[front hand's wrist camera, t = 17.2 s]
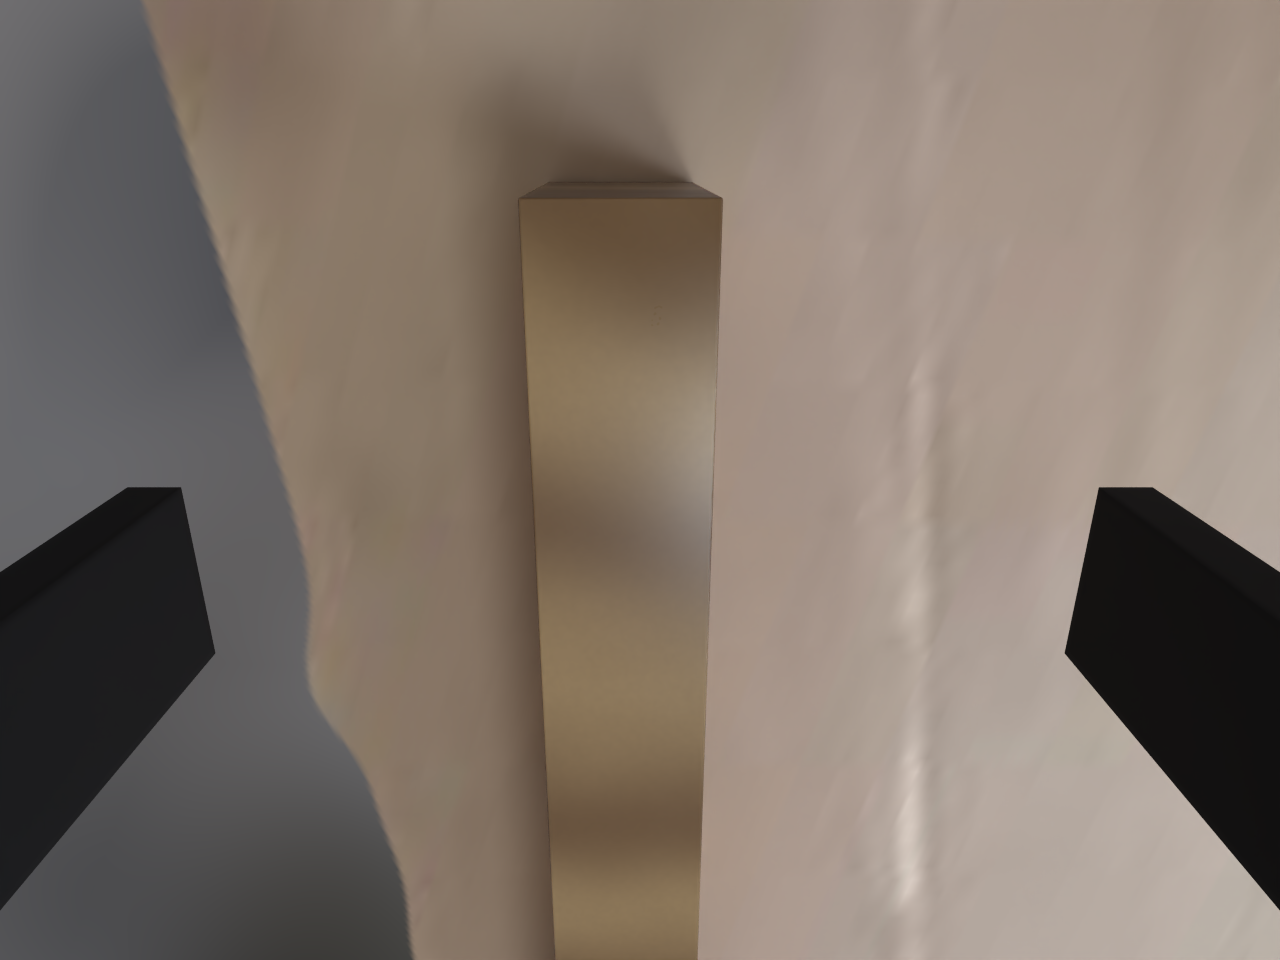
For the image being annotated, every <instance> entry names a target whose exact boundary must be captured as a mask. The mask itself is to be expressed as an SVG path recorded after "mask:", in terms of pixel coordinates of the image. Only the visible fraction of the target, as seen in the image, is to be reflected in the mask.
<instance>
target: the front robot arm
mask: <svg viewBox="0 0 1280 960" xmlns="http://www.w3.org/2000/svg"><path fill="white" fill-rule="evenodd" d="M214 654H215V649H214V645H213V640H212V635H211V630H210V625H209V621H208V616H207V611H206V606H205V601H204V596H203V591H202V587H201V582H200V577H199V572H198V567H197V563H196V558H195V553H194V548H193V543H192V538H191V533H190V528H189V524H188V519H187V514H186V509H185V504H184V499H183V495H182V490H181V487H128V488H126V489H124V490H123V491H121V492H120V493H118V494H117V495H115V496H114V497H112V498H111V499H109V500H108V501H106V502H105V503H103V504H102V505H100V506H99V507H97V508H96V509H94V510H93V511H91V512H90V513H88V514H87V515H85V516H84V517H82V518H81V519H79V520H78V521H76V522H75V523H73V524H72V525H70V526H69V527H67V528H66V529H64V530H63V531H61V532H60V533H58V534H57V535H55V536H54V537H52V538H51V539H49V540H48V541H46V542H45V543H43V544H42V545H40V546H39V547H37V548H36V549H34V550H33V551H31V552H30V553H28V554H27V555H25V556H24V557H22V558H21V559H19V560H18V561H16V562H15V563H13V564H12V565H10V566H9V567H7V568H6V569H4V570H3V571H1V572H0V910H1V909H2V908H3V906H4V905H5V904H6V903H7V902H8V900H9V899H10V898H11V897H12V896H13V894H14V893H15V892H16V891H17V890H18V888H19V887H20V886H21V885H22V884H23V882H24V881H25V880H26V879H27V878H28V876H29V875H30V874H31V873H32V872H33V870H34V869H35V868H36V867H37V866H38V864H39V863H40V862H41V861H42V860H43V858H44V857H45V856H46V855H47V854H48V853H49V851H50V850H51V849H52V848H53V847H54V845H55V844H56V843H57V842H58V841H59V839H60V838H61V837H62V836H63V835H64V833H65V832H66V831H67V830H68V829H69V827H70V826H71V825H72V824H73V823H74V821H75V820H76V819H77V818H78V817H79V815H80V814H81V813H82V812H83V811H84V810H85V808H86V807H87V806H88V805H89V804H90V802H91V801H92V800H93V799H94V798H95V796H96V795H97V794H98V793H99V792H100V790H101V789H102V788H103V787H104V786H105V784H106V783H107V782H108V781H109V780H110V778H111V777H112V776H113V775H114V774H115V772H116V771H117V770H118V769H119V768H120V766H121V765H122V764H123V763H124V762H125V761H126V759H127V758H128V757H129V756H130V755H131V753H132V752H133V751H134V750H135V749H136V747H137V746H138V745H139V744H140V743H141V741H142V740H143V739H144V738H145V737H146V735H147V734H148V733H149V732H150V731H151V729H152V728H153V727H154V726H155V725H156V724H157V722H158V721H159V720H160V719H161V718H162V716H163V715H164V714H165V713H166V712H167V710H168V709H169V708H170V707H171V706H172V704H173V703H174V702H175V701H176V700H177V698H178V697H179V696H180V695H181V694H182V692H183V691H184V690H185V689H186V688H187V686H188V685H189V684H190V683H191V682H192V681H193V679H194V678H195V677H196V676H197V675H198V673H199V672H200V671H201V670H202V669H203V667H204V666H205V665H206V664H207V663H208V661H209V660H210V659H211V658H212V657H213V655H214ZM1065 654H1066V655H1067V657H1068V658H1069V659H1070V660H1071V661H1072V663H1073V664H1074V665H1075V666H1076V667H1077V669H1078V670H1079V671H1080V672H1081V673H1082V675H1083V676H1084V677H1085V678H1086V679H1087V681H1088V682H1089V683H1090V684H1091V685H1092V686H1093V688H1094V689H1095V690H1096V691H1097V692H1098V694H1099V695H1100V696H1101V697H1102V698H1103V700H1104V701H1105V702H1106V703H1107V704H1108V706H1109V707H1110V708H1111V709H1112V710H1113V712H1114V713H1115V714H1116V715H1117V716H1118V718H1119V719H1120V720H1121V721H1122V722H1123V724H1124V725H1125V726H1126V727H1127V728H1128V729H1129V731H1130V732H1131V733H1132V734H1133V735H1134V737H1135V738H1136V739H1137V740H1138V741H1139V743H1140V744H1141V745H1142V746H1143V747H1144V749H1145V750H1146V751H1147V752H1148V753H1149V755H1150V756H1151V757H1152V758H1153V759H1154V761H1155V762H1156V763H1157V764H1158V765H1159V767H1160V768H1161V769H1162V770H1163V771H1164V773H1165V774H1166V775H1167V776H1168V777H1169V778H1170V780H1171V781H1172V782H1173V783H1174V784H1175V786H1176V787H1177V788H1178V789H1179V790H1180V792H1181V793H1182V794H1183V795H1184V796H1185V798H1186V799H1187V800H1188V801H1189V802H1190V804H1191V805H1192V806H1193V807H1194V808H1195V810H1196V811H1197V812H1198V813H1199V814H1200V816H1201V817H1202V818H1203V819H1204V820H1205V821H1206V823H1207V824H1208V825H1209V826H1210V827H1211V829H1212V830H1213V831H1214V832H1215V833H1216V835H1217V836H1218V837H1219V838H1220V839H1221V841H1222V842H1223V843H1224V844H1225V845H1226V847H1227V848H1228V849H1229V850H1230V851H1231V853H1232V854H1233V855H1234V856H1235V857H1236V859H1237V860H1238V861H1239V862H1240V863H1241V864H1242V866H1243V867H1244V868H1245V869H1246V870H1247V872H1248V873H1249V874H1250V875H1251V876H1252V878H1253V879H1254V880H1255V881H1256V882H1257V884H1258V885H1259V886H1260V887H1261V888H1262V890H1263V891H1264V892H1265V893H1266V894H1267V896H1268V897H1269V898H1270V899H1271V900H1272V902H1273V903H1274V904H1275V905H1276V906H1277V908H1278V909H1279V910H1280V572H1279V571H1277V570H1276V569H1274V568H1273V567H1271V566H1270V565H1268V564H1267V563H1265V562H1264V561H1262V560H1261V559H1259V558H1258V557H1256V556H1255V555H1253V554H1252V553H1250V552H1249V551H1247V550H1246V549H1244V548H1243V547H1241V546H1240V545H1238V544H1237V543H1235V542H1234V541H1232V540H1231V539H1229V538H1228V537H1226V536H1225V535H1223V534H1222V533H1220V532H1219V531H1217V530H1216V529H1214V528H1213V527H1211V526H1210V525H1208V524H1207V523H1205V522H1204V521H1202V520H1201V519H1199V518H1198V517H1196V516H1195V515H1193V514H1192V513H1190V512H1189V511H1187V510H1186V509H1184V508H1183V507H1181V506H1180V505H1178V504H1177V503H1175V502H1174V501H1172V500H1171V499H1169V498H1168V497H1166V496H1165V495H1163V494H1162V493H1160V492H1159V491H1157V490H1156V489H1154V488H1153V487H1099V490H1098V495H1097V499H1096V504H1095V509H1094V514H1093V519H1092V524H1091V528H1090V533H1089V538H1088V543H1087V548H1086V553H1085V558H1084V562H1083V567H1082V572H1081V577H1080V582H1079V587H1078V591H1077V596H1076V601H1075V606H1074V611H1073V616H1072V620H1071V625H1070V630H1069V635H1068V640H1067V645H1066V649H1065Z"/></svg>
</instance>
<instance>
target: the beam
mask: <svg viewBox="0 0 1280 960" xmlns="http://www.w3.org/2000/svg"><path fill="white" fill-rule="evenodd" d="M518 208H519V228H520V249H521V270H522V290H523V311H524V331H525V352H526V373H527V393H528V414H529V434H530V455H531V476H532V496H533V517H534V538H535V558H536V579H537V599H538V620H539V641H540V661H541V682H542V702H543V723H544V744H545V764H546V785H547V806H548V826H549V847H550V867H551V888H552V909H553V929H554V950H555V960H697V958H698V928H699V898H700V868H701V838H702V808H703V779H704V749H705V719H706V689H707V659H708V629H709V600H710V570H711V540H712V510H713V480H714V450H715V421H716V391H717V361H718V331H719V301H720V272H721V242H722V212H723V199H722V198H721V197H719V196H717V195H715V194H713V193H712V192H710V191H708V190H706V189H704V188H702V187H700V186H698V185H697V184H695V183H693V182H549V183H547V184H545V185H543V186H541V187H539V188H537V189H535V190H533V191H532V192H530V193H528V194H526V195H524V196H522V197H520V198H519V199H518Z"/></svg>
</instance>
